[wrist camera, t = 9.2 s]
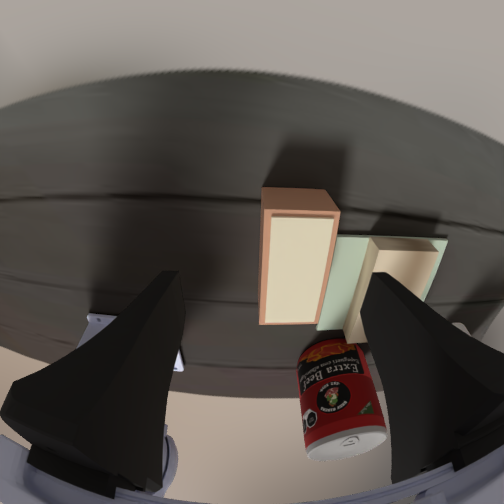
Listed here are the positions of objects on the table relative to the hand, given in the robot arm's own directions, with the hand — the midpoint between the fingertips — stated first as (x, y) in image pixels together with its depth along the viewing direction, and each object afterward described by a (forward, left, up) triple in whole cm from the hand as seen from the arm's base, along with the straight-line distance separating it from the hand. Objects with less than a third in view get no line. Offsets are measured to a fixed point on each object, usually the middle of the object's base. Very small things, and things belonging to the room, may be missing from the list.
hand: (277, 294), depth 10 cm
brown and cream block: (+2, -4, -10) cm, 11 cm away
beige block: (+11, -8, -10) cm, 17 cm away
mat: (+11, -8, -10) cm, 17 cm away
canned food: (+8, -18, -11) cm, 23 cm away
